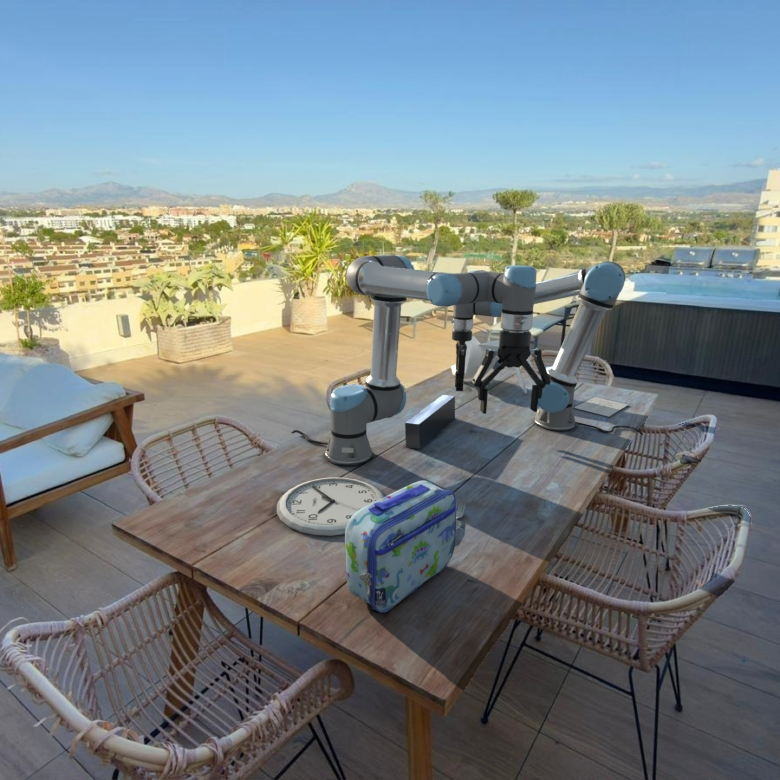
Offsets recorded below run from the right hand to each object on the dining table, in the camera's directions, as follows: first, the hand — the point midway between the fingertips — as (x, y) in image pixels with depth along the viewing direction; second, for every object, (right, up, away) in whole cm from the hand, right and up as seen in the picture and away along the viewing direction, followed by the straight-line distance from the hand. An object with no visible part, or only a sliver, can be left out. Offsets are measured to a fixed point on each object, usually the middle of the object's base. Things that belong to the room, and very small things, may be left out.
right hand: (458, 388), depth 204 cm
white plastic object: (+21, +1, +47) cm, 52 cm away
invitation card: (+65, -8, +22) cm, 69 cm away
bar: (-11, -16, -8) cm, 21 cm away
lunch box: (-24, -42, -92) cm, 104 cm away
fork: (-10, -35, -69) cm, 79 cm away
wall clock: (-43, -32, -61) cm, 81 cm away
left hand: (+4, -6, -69) cm, 69 cm away
